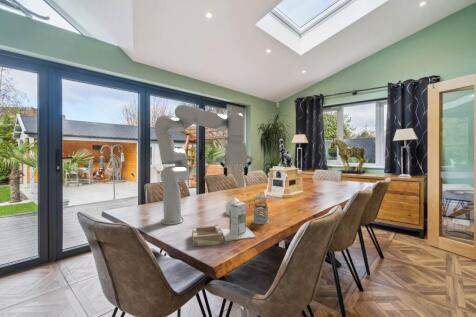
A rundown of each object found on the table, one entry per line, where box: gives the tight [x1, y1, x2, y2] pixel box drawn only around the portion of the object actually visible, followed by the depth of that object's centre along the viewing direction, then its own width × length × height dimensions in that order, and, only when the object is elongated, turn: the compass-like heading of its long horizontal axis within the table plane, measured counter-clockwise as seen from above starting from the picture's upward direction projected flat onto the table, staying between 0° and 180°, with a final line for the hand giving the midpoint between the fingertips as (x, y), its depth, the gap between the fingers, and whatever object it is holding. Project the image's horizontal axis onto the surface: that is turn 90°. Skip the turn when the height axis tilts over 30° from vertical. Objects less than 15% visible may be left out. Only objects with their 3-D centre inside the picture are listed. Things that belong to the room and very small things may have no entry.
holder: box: [191, 224, 224, 247], centre depth 107 cm, size 13×13×4 cm
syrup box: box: [229, 201, 247, 235], centre depth 114 cm, size 6×6×14 cm
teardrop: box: [224, 194, 241, 216], centre depth 151 cm, size 11×11×12 cm
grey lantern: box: [248, 177, 270, 225], centre depth 133 cm, size 10×12×25 cm
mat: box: [220, 226, 256, 242], centre depth 114 cm, size 14×14×1 cm
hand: (235, 175), depth 113 cm, fingers open, 9 cm apart
